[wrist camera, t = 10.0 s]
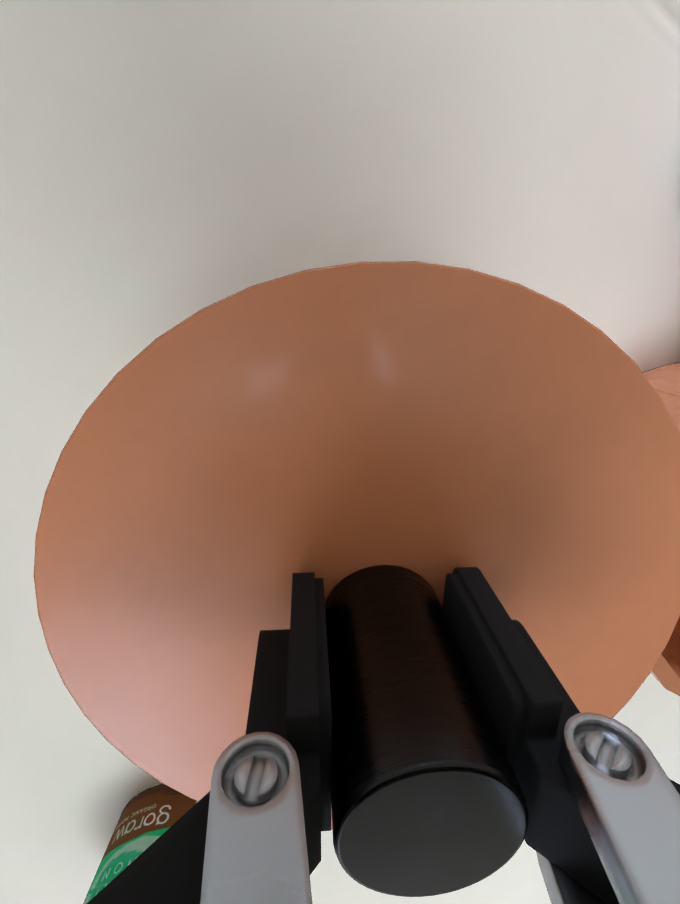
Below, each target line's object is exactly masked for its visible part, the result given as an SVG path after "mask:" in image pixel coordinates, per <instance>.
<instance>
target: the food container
mask: <svg viewBox="0 0 680 904" xmlns="http://www.w3.org/2000/svg"><path fill="white" fill-rule="evenodd" d="M197 802H198V801H197V800H194V799H192V798H190V797H188V796H186V795H184V794H182V793H180V792H178V791H177V790H175V789H173V788H171V787H169V786H167V785H165V784H162V785H159V786H156V787H153V788H150V789H147V790H145V791H143V792H141V793H140V794H138V795H137V796H135V797H134V798H133V799H132V800H131V801H130V802H129V803H128V804H127V805H126V807H125V808H124V810H123V812H122V814H121V816H120V819H119V821H118V823H117V826H116V828H115V830H114V833H113V835H112V837H111V840H110V842H109V844H108V847H107V849H106V851H105V854H104V856H103V859H102V861H101V863H100V866H99V868H98V870H97V873H96V875H95V877H94V880H93V882H92V884H91V887H90V889H89V891H88V894H87V896H86V898H85V901H84V903H83V904H87V903H88V902H89V901H90V900H91V899H92V898H93V897H94V896H96V895H97V894H98V893H99V892H100V891H101V890H102V889H103V888H104V887H105V886H106V885H108V884H109V883H110V882H111V881H112V880H113V879H114V878H115V877H116V876H117V875H119V874H120V873H121V872H122V871H123V870H124V869H125V868H126V867H127V866H128V865H129V864H131V863H132V862H133V861H134V860H135V859H136V858H137V857H138V856H139V855H140V854H142V853H143V852H144V851H145V850H146V849H147V848H148V847H149V846H150V845H151V844H152V843H154V842H155V841H156V840H157V839H158V838H159V837H160V836H161V835H162V834H163V833H164V832H166V831H167V830H168V829H169V828H170V827H171V826H172V825H173V824H174V823H175V822H177V821H178V820H179V819H180V818H181V817H182V816H183V815H184V814H185V813H186V812H187V811H189V810H190V809H191V808H192V807H193V806H194V805H195V804H196V803H197Z"/></svg>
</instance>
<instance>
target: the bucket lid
mask: <svg viewBox="0 0 680 904" xmlns="http://www.w3.org/2000/svg"><path fill="white" fill-rule="evenodd" d="M455 567H478V568H479V569H480V571H481V572H482V574H483V575H484V577H485V579H486V580H487V582H488V583H489V585H490V586H491V588H492V590H493V591H494V593H495V594H496V596H497V597H498V599H499V601H500V602H501V604H502V605H503V607H504V608H505V610H506V612H507V613H508V615H509V616H510V618H511V620H518V621H519V622H520V623H521V624H522V625H523V626H524V628H525V629H526V631H527V632H528V634H529V635H530V637H531V638H532V640H533V641H534V643H535V644H536V646H537V647H538V649H539V651H540V652H541V654H542V655H543V657H544V658H545V660H546V661H547V663H548V664H549V666H550V667H551V669H552V670H553V672H554V673H555V675H556V676H557V678H558V679H559V681H560V682H561V684H562V685H563V687H564V688H565V690H566V692H567V693H568V695H569V696H570V698H571V699H572V701H573V702H574V704H575V705H576V707H577V708H578V710H579V711H580V713H586V712H590V713H596V714H602V715H604V716H607V717H610V718H613V717H614V716H615V715H616V714H617V713H618V712H619V711H620V710H621V709H622V708H623V707H624V706H625V704H626V703H627V702H628V701H629V700H630V699H631V697H632V696H633V695H634V693H635V692H636V691H637V690H638V688H639V687H640V686H641V684H642V683H643V682H644V680H645V679H646V678H647V676H648V675H649V674H650V672H651V670H652V669H653V667H654V665H655V664H656V662H657V660H658V659H659V657H660V655H661V654H662V652H663V650H664V649H665V647H666V645H667V643H668V641H669V639H670V637H671V634H672V632H673V630H674V628H675V625H676V623H677V621H678V618H679V616H680V434H679V431H678V429H677V427H676V425H675V424H674V422H673V420H672V418H671V416H670V414H669V412H668V410H667V408H666V406H665V404H664V402H663V400H662V399H661V397H660V395H659V394H658V393H657V391H656V390H655V389H654V387H653V386H652V385H651V383H650V382H649V381H648V379H647V378H646V377H645V375H644V374H643V373H642V371H641V370H640V369H639V367H638V366H637V365H636V363H635V362H634V361H633V360H632V359H631V358H630V357H629V356H628V355H627V354H626V353H625V352H623V351H622V350H621V349H620V348H619V347H618V346H617V345H616V344H615V343H614V342H613V341H612V340H611V339H610V338H609V337H608V336H607V335H606V334H605V333H603V332H602V331H601V330H600V329H598V328H597V327H595V326H594V325H592V324H591V323H589V322H588V321H587V320H585V319H584V318H582V317H581V316H579V315H578V314H576V313H575V312H573V311H572V310H570V309H569V308H567V307H566V306H564V305H563V304H561V303H559V302H557V301H554V300H552V299H550V298H548V297H546V296H544V295H542V294H540V293H537V292H535V291H533V290H531V289H529V288H527V287H525V286H523V285H520V284H518V283H515V282H512V281H508V280H505V279H501V278H498V277H495V276H491V275H488V274H484V273H481V272H478V271H474V270H471V269H466V268H459V267H452V266H445V265H437V264H430V263H423V262H416V261H410V262H356V263H349V264H343V265H336V266H329V267H323V268H316V269H309V270H304V271H300V272H297V273H294V274H290V275H287V276H284V277H280V278H277V279H274V280H270V281H267V282H264V283H260V284H257V285H254V286H251V287H249V288H246V289H244V290H242V291H240V292H238V293H236V294H233V295H231V296H229V297H227V298H225V299H223V300H220V301H218V302H216V303H214V304H212V305H210V306H207V307H205V308H203V309H201V310H199V311H198V312H196V313H195V314H193V315H192V316H190V317H189V318H187V319H186V320H184V321H183V322H181V323H180V324H178V325H176V326H175V327H173V328H172V329H170V330H169V331H167V332H166V333H164V334H163V335H161V336H160V337H158V338H156V339H155V340H154V341H153V342H152V343H151V344H150V345H148V346H147V347H146V348H145V349H144V350H143V351H142V352H141V353H139V354H138V355H137V356H136V357H135V358H134V359H133V360H132V361H130V362H129V363H128V364H127V365H126V366H125V367H124V368H122V369H121V370H120V371H119V372H118V373H117V374H116V375H115V376H114V378H113V379H112V380H111V381H110V382H109V384H108V385H107V386H106V387H105V388H104V390H103V391H102V392H101V393H100V394H99V396H98V397H97V398H96V399H95V400H94V402H93V403H92V404H91V405H90V406H89V408H88V409H87V410H86V411H85V413H84V415H83V416H82V418H81V420H80V421H79V423H78V425H77V426H76V428H75V430H74V431H73V433H72V435H71V436H70V438H69V440H68V442H67V443H66V445H65V447H64V448H63V450H62V452H61V454H60V457H59V459H58V462H57V464H56V467H55V469H54V472H53V474H52V477H51V479H50V482H49V484H48V487H47V489H46V492H45V496H44V500H43V505H42V510H41V514H40V519H39V523H38V528H37V533H36V542H35V564H34V581H35V590H36V598H37V607H38V615H39V619H40V622H41V626H42V629H43V633H44V636H45V640H46V643H47V647H48V650H49V652H50V655H51V657H52V659H53V661H54V663H55V665H56V668H57V670H58V672H59V674H60V676H61V678H62V681H63V683H64V685H65V686H66V688H67V689H68V691H69V692H70V694H71V695H72V697H73V698H74V700H75V701H76V703H77V704H78V706H79V707H80V709H81V710H82V712H83V714H84V715H85V716H86V717H87V718H88V719H89V720H90V722H91V723H92V724H93V725H94V726H95V727H96V728H97V730H98V731H99V732H100V733H101V734H102V735H103V736H104V738H105V739H106V740H107V741H108V742H109V743H111V744H112V745H113V746H114V747H115V748H116V749H117V750H119V751H120V752H121V753H122V754H123V755H124V756H125V757H127V758H128V759H129V760H130V761H131V762H132V763H134V764H135V765H136V766H138V767H139V768H141V769H142V770H144V771H145V772H147V773H148V774H150V775H151V776H153V777H154V778H156V779H157V780H158V781H160V782H161V783H163V784H165V785H167V786H169V787H171V788H173V789H175V790H177V791H178V792H180V793H182V794H184V795H186V796H188V797H190V798H192V799H194V800H197V801H199V800H201V799H202V798H203V797H204V796H205V795H206V794H207V793H208V792H209V791H210V789H211V778H212V774H213V770H214V766H215V764H216V762H217V760H218V758H219V757H220V755H221V753H222V752H223V751H224V750H225V749H226V748H227V747H228V746H229V745H230V744H231V743H232V742H233V741H235V740H237V739H238V738H240V737H242V736H243V735H245V734H246V727H247V720H248V712H249V705H250V697H251V690H252V683H253V675H254V668H255V660H256V653H257V646H258V638H259V633H260V630H282V629H290V618H291V595H292V574H293V573H306V572H314V576H315V578H323V583H324V599H325V614H326V630H327V646H328V661H329V677H330V692H331V712H332V771H331V778H330V788H331V830H333V845H334V849H335V853H336V855H337V857H338V860H339V862H340V864H341V866H342V867H343V869H344V870H345V871H346V873H347V874H348V875H349V876H351V877H352V878H353V879H354V880H355V881H357V882H358V883H360V884H362V885H363V886H365V887H367V888H369V889H372V890H375V891H377V892H381V893H385V894H389V895H395V896H405V897H423V896H433V895H439V894H444V893H448V892H452V891H456V890H459V889H462V888H465V887H467V886H470V885H472V884H474V883H477V882H479V881H481V880H482V879H484V878H486V877H488V876H489V875H491V874H492V873H494V872H495V871H497V870H498V869H500V868H501V867H502V866H503V865H504V864H506V863H507V862H508V861H509V860H510V859H511V858H512V856H513V855H514V854H515V853H516V851H517V850H518V849H519V847H520V846H521V844H522V842H523V840H524V838H525V835H526V833H527V829H528V824H529V812H528V805H527V800H526V798H525V796H524V793H523V791H522V789H521V787H520V784H519V782H518V780H517V777H516V775H515V773H514V771H513V768H512V766H511V764H510V761H509V759H508V757H507V755H506V752H505V750H504V748H503V745H502V743H501V741H500V739H499V736H498V734H497V732H496V730H495V727H494V725H493V723H492V720H491V718H490V716H489V714H488V711H487V709H486V707H485V704H484V702H483V700H482V698H481V695H480V693H479V691H478V688H477V686H476V684H475V682H474V679H473V677H472V675H471V673H470V670H469V668H468V666H467V663H466V661H465V659H464V657H463V654H462V652H461V650H460V647H459V645H458V643H457V641H456V638H455V636H454V634H453V631H452V629H451V627H450V625H449V622H448V620H447V618H446V616H445V613H444V611H443V609H442V607H443V598H444V588H445V579H446V575H447V574H451V573H453V570H454V568H455Z"/></svg>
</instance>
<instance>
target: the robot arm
mask: <svg viewBox="0 0 680 904" xmlns="http://www.w3.org/2000/svg"><path fill="white" fill-rule="evenodd" d="M442 609H443V611H444V613H445V616H446V618H447V620H448V622H449V625H450V627H451V629H452V631H453V634H454V636H455V638H456V641H457V643H458V645H459V647H460V650H461V652H462V654H463V657H464V659H465V661H466V663H467V666H468V668H469V670H470V673H471V675H472V677H473V679H474V682H475V684H476V686H477V688H478V691H479V693H480V695H481V698H482V700H483V702H484V704H485V707H486V709H487V711H488V714H489V716H490V718H491V720H492V723H493V725H494V727H495V730H496V732H497V734H498V736H499V739H500V741H501V743H502V745H503V748H504V750H505V752H506V755H507V757H508V759H509V761H510V764H511V766H512V768H513V771H514V773H515V775H516V777H517V780H518V782H519V784H520V787H521V789H522V791H523V793H524V796H525V798H526V800H527V805H528V812H529V824H528V829H527V833H526V835H525V838H524V839H525V841H526V844H528V845H529V846H530V847H532V848H533V849H534V850H536V852H537V857H538V862H539V866H540V869H541V872H542V875H543V878H544V881H545V884H546V887H547V891H548V894H549V897H550V900H551V903H552V904H680V785H679V784H677V783H676V782H674V781H672V780H670V779H669V778H668V777H667V775H666V773H665V772H664V770H663V769H662V767H661V766H660V764H659V763H658V761H657V760H656V758H655V757H654V755H653V753H652V752H651V750H650V749H649V748H648V747H647V745H646V744H645V743H644V742H643V740H642V739H641V738H640V737H639V736H638V735H637V734H635V733H634V732H633V731H632V730H631V729H629V728H628V727H627V726H625V725H623V724H622V723H620V722H618V721H617V720H615V719H612V718H610V717H607V716H604V715H602V714H596V713H590V712H586V713H580V711H579V710H578V708H577V707H576V705H575V704H574V702H573V701H572V699H571V698H570V696H569V695H568V693H567V692H566V690H565V688H564V687H563V685H562V684H561V682H560V681H559V679H558V678H557V676H556V675H555V673H554V672H553V670H552V669H551V667H550V666H549V664H548V663H547V661H546V660H545V658H544V657H543V655H542V654H541V652H540V651H539V649H538V647H537V646H536V644H535V643H534V641H533V640H532V638H531V637H530V635H529V634H528V632H527V631H526V629H525V628H524V626H523V625H522V624H521V623H520V622H519V621H518V620H511V618H510V616H509V615H508V613H507V612H506V610H505V608H504V607H503V605H502V604H501V602H500V601H499V599H498V597H497V596H496V594H495V593H494V591H493V590H492V588H491V586H490V585H489V583H488V582H487V580H486V579H485V577H484V575H483V574H482V572H481V571H480V569H479V568H478V567H455V568H454V570H453V573H451V574H447V575H446V579H445V588H444V598H443V607H442ZM331 771H332V712H331V692H330V677H329V661H328V646H327V630H326V614H325V599H324V583H323V578H315V576H314V572H306V573H293V574H292V595H291V618H290V629H282V630H260V633H259V638H258V646H257V653H256V660H255V668H254V675H253V683H252V690H251V697H250V705H249V712H248V720H247V727H246V734H245V735H243V736H242V737H240V738H238V739H237V740H235V741H233V742H232V743H231V744H230V745H229V746H228V747H227V748H226V749H225V750H224V751H223V752H222V753H221V755H220V757H219V758H218V760H217V762H216V764H215V766H214V770H213V774H212V778H211V789H210V791H209V792H208V793H207V794H206V795H205V796H204V797H203V798H202V799H201V800H199V801H198V802H197V803H196V804H195V805H194V806H193V807H192V808H191V809H190V810H189V811H187V812H186V813H185V814H184V815H183V816H182V817H181V818H180V819H179V820H178V821H177V822H175V823H174V824H173V825H172V826H171V827H170V828H169V829H168V830H167V831H166V832H164V833H163V834H162V835H161V836H160V837H159V838H158V839H157V840H156V841H155V842H154V843H152V844H151V845H150V846H149V847H148V848H147V849H146V850H145V851H144V852H143V853H142V854H140V855H139V856H138V857H137V858H136V859H135V860H134V861H133V862H132V863H131V864H129V865H128V866H127V867H126V868H125V869H124V870H123V871H122V872H121V873H120V874H119V875H117V876H116V877H115V878H114V879H113V880H112V881H111V882H110V883H109V884H108V885H106V886H105V887H104V888H103V889H102V890H101V891H100V892H99V893H98V894H97V895H96V896H94V897H93V898H92V899H91V900H90V901H89V902H88V903H87V904H312V896H311V885H310V874H311V873H312V871H313V870H314V869H315V868H316V866H317V865H318V864H319V862H320V861H321V831H329V830H331V788H330V778H331Z"/></svg>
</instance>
